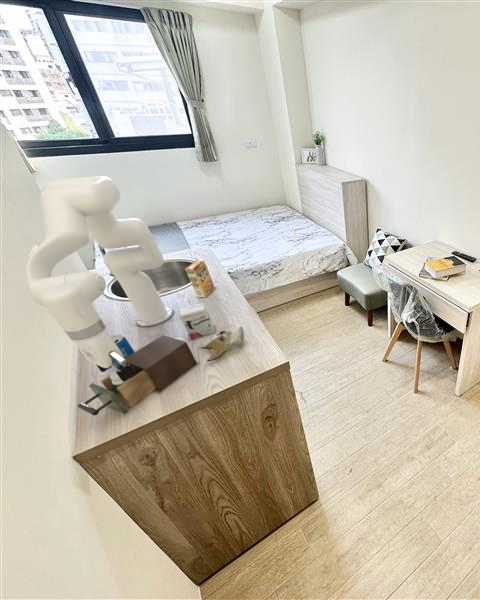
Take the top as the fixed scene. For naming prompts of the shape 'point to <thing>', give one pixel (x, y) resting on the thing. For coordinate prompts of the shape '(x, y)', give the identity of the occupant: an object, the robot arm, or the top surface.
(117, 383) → the pill bottle
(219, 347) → the ceramic sculpture
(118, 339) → the beverage can
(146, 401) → the top surface
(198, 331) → the ink box
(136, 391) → the drawer
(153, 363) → the cabinet
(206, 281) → the candy box
